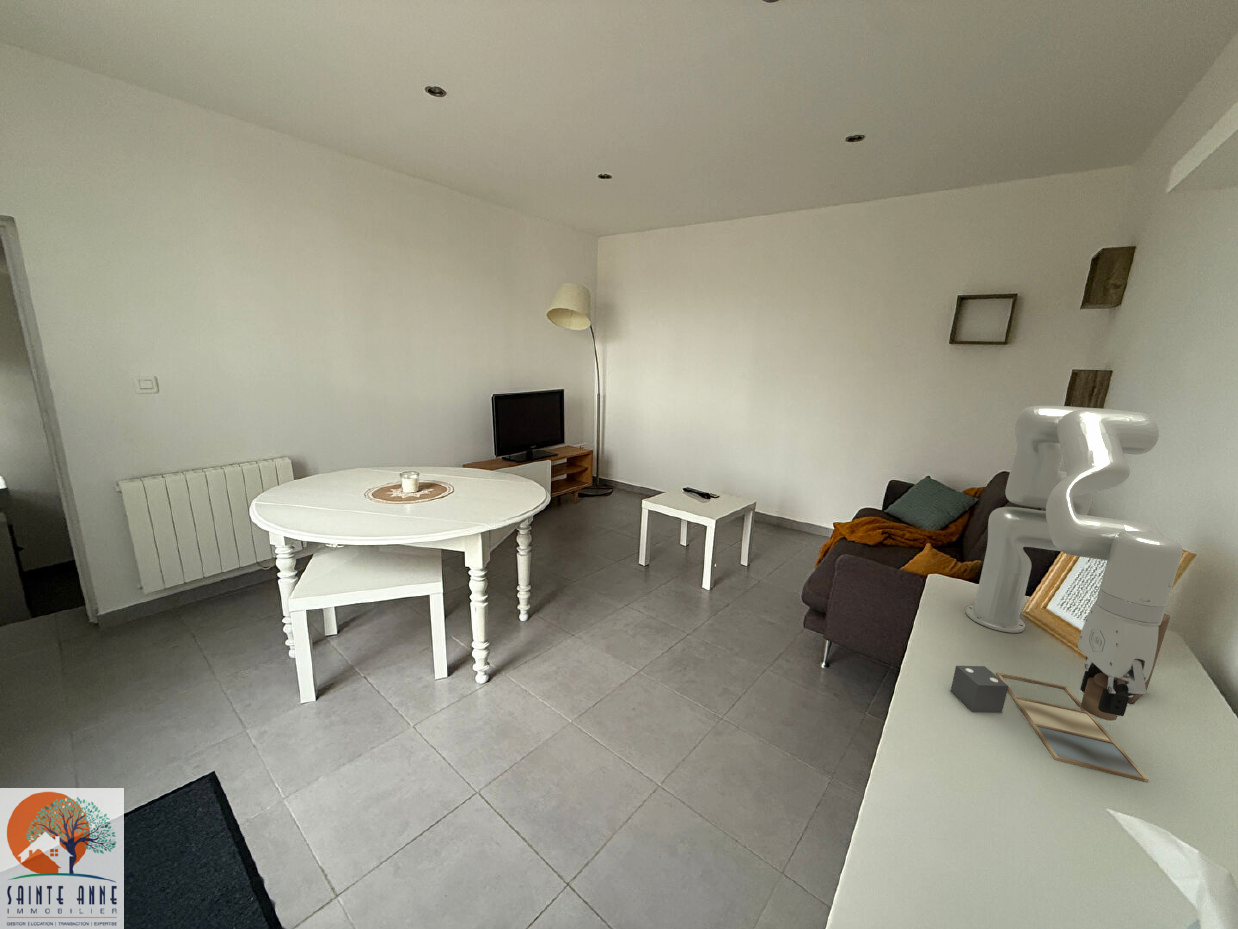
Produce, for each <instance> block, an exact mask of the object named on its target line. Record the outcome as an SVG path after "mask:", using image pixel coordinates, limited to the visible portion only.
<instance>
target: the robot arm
mask: <svg viewBox="0 0 1238 929" xmlns="http://www.w3.org/2000/svg"><path fill="white" fill-rule="evenodd" d="M1014 425H1015V426H1014V435H1015V443H1016V451H1015V455H1014V458H1013V460H1012V464H1011V466H1010V467H1011V468H1010V472H1009V474H1008V479H1007V483H1006V487H1005V491H1004V492H1005V497H1006V499H1007V500H1008V501H1009V502H1010V503H1013V504H1015V505H1019V506H1023V507H1025V508H1023V507H1016V506H1015V507H1014V506H1003V507H997V508H995V509H994V510H992V511H991V513H990V514H989V516H988V524H987V543H986V544H987V546H986V551H985V556H984V561H983V564H982V569H981V574H980V578H979V583H978V587H977V593H976V596H975V601H974V604H972V605H971V604H970V605H968V606H967V607H966V608H965V614H966V615H967V617H968V618H970V619H971V620H972V621H973V622H976V623H977V624H980V625H981V626H984V627H986V628H989V629H992V630H995V631H999V632H1003V633H1010V634H1013V633H1014V634H1015V633H1016V634H1019V633H1022V632H1024V631H1025V629H1026V624H1025V622H1024V621H1023V620H1022V619H1021V618H1020V616H1021V611H1022V607H1023V603H1024V599H1025V595H1026V591H1027V587H1028V583H1029V580H1030V575H1031V570H1032V561H1031V558H1030V557H1029V556H1028V554H1027V553H1026V552H1025V550H1024V548H1025V547H1026V548H1035V549H1041V550H1042V549H1044V550H1050V551H1058V552H1061V553H1063V554H1066V555H1067V556H1073V557H1080V558H1086V559H1093V560H1100V561H1106V565H1105V568H1104V572H1103V575H1102V579H1101V582H1100V586H1099V588H1098V593H1097V597H1096V600H1095V602H1094V603H1093V605H1092V606H1091V607H1090V610H1089V612H1088V614H1087V616H1086V617H1085V620H1084V623H1083V626H1082V629H1081V632H1080V634H1079V638H1078V642H1077V647H1078V649H1079V651H1080V652H1081V653H1082V655H1084V656H1085V660H1086V661H1085V662H1084V667H1083V668H1084V669H1085V670H1084V675H1083V677H1082V681H1081V684H1080V688H1079V690H1080V691H1081V692H1083V693H1084V692H1085V688H1086V685H1087V681H1088V679H1089V678H1094V676H1095V675H1096V674H1098V673H1105V674H1106V675H1107V676H1109V677H1108V686H1107V689H1103V692H1102V696H1101V699H1100V703H1099V706H1098V709H1099V710H1100V711H1101V712H1104V713H1109V714H1114V715H1117V717H1118V716H1119V717H1123V716H1125V713H1126V710H1127V708H1128V704H1129V703H1128V701H1129V698H1130V697H1133V695H1136V694H1142V695H1146V694H1147V691H1146V686H1145V682H1146V681H1147V680H1148V678H1149V676H1150V673H1151V670H1152V667H1153V663H1154V659H1155V654H1156V649H1157V642H1158V630H1159V627H1158V626H1159V625H1161V622H1162V619H1163V615H1164V614H1165V611H1166V609H1167V605H1168V602H1169V599H1170V595H1171V592H1172V589H1173V585H1174V582H1175V579H1176V575H1177V573H1178V569H1179V566H1180V563H1181V560H1182V557H1183V554H1184V553H1183V550H1184V549H1183V546H1182V545H1181V543H1179V542H1178V541H1177V540H1174V539H1173V538H1170V537H1169V536H1164V534H1163V533H1162V532H1161V531H1160V530H1159V529H1158V528H1157V527H1155V526H1153V525H1151V524H1149V523H1146V522H1141V521H1135V520H1125V519H1119V518H1111V517H1103V516H1096V515H1095V516H1094V515H1088V513H1089V510H1090V507H1091V505H1092V501H1093V496H1094V495H1093V494H1094V493H1096V492H1101V491H1106V490H1109V489H1112V488H1115V487H1118V486H1120V485H1122V483H1124V482H1125V481H1127V480H1128V479H1129V477H1130V473H1131V472H1130V471H1131V470H1130V467H1129V464H1128V462H1127V459H1126V455H1143V454H1146V453H1148V452H1151V451H1152V450H1153V449H1154V448H1155V446H1156V445H1157V442H1158V440H1159V436H1160V435H1159V434H1160V431H1159V427H1158V423H1157V422H1156V420H1155V419H1154V418H1153V417H1152V416H1150V415H1149V414H1147V413H1145V412H1142V411H1129V410H1122V409H1121V410H1120V409H1113V408H1112V409H1111V408H1098V407H1097V408H1095V407H1082V406H1081V407H1080V406H1070V405H1069V406H1067V405H1048V404H1047V405H1045V404H1044V405H1031V406H1028V407H1026V408H1024V409H1022V411H1020V413H1019V414H1018V416H1017V418H1016V421H1015V424H1014ZM1062 460H1063V463H1064V468H1065V470H1066V471H1061V470H1059V468H1060V464H1061V462H1062ZM1026 507H1030V508H1026ZM1031 508H1032V509H1031ZM1033 508H1038V510H1037V509H1033ZM1039 508H1040V509H1045V510H1039ZM1126 673H1127V676H1125V674H1126ZM1118 679H1119V680H1124V681H1125V684H1119V685H1117V680H1118Z"/></svg>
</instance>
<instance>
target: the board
mask: <svg viewBox="0 0 1238 929" xmlns="http://www.w3.org/2000/svg"><path fill="white" fill-rule="evenodd" d="M995 675H996V676H997V677H998V678H1000V679H1001V680H1002V681H1003V682H1004V683H1006V684H1007V685H1008V683H1007V682H1006V680H1005V679H1004V678H1007V679H1012V680H1016V681H1022V682H1027V683H1031V684H1037V685H1042V686H1045V687H1051V688H1056V689H1061V690H1064V691H1065V692H1066V693H1067V694H1068V696H1069V697H1070V698H1071V699H1072V700H1073V701H1074V703H1075V704H1076V705H1077V706H1078V708H1080V709H1077V708H1073V707H1067V706H1064V705H1063V706H1062V705H1058V704H1054V703H1050V702H1049V703H1048V702H1044V701H1041V700H1035V699H1030V698H1024V697H1021V696H1016V695H1015V694H1014V692H1013V690H1012V689H1011V687H1010V686H1009V685H1008V690H1007V693H1009V695H1010V696H1011V698H1012V700H1013V701H1014V702H1015V704H1016V706H1017V707H1018V708H1019V710H1020V711H1021V713H1022V714H1023V716H1024V717H1025V718H1026V720H1027V722H1028V723H1029V724H1030V726H1031V727H1032V729H1033V730H1034V731H1035V733H1036V735H1037V736H1038V737H1039V739H1040V740H1041V742H1042V743H1043V745H1044V746H1045V747H1046V749H1047V750H1048V752H1049V753H1050V755H1051V757H1052V758H1053V759H1054V760H1055V761H1059V762H1063V763H1067V764H1071V765H1076V766H1080V767H1082V768H1083V767H1084V768H1088V769H1092V770H1096V771H1100V772H1104V773H1108V774H1112V775H1116V776H1120V777H1125V778H1128V779H1133V780H1137V781H1141V782H1145V783H1149V781H1150V780H1149V778H1148V777H1147V776H1146V775H1145V774H1144V773H1143V771H1142V770H1141V769H1140V768H1139V767H1138V766H1137V765H1136V763H1134V761H1133V759H1131V758H1130V757H1129V756H1128V754H1126V752H1125V751H1124V750H1123V749H1122V747H1121V746H1120V745H1119V744H1118V743H1117V742H1116V741H1115V739H1113V737H1112V736H1111V735H1110V734H1109V733H1108V731H1106V730H1105V729H1104V727H1103V726H1102V725H1101V724H1100V723H1099V721H1098V720H1097V719H1096V718H1095V716H1094V715H1092V714H1090V713H1088V712H1087V711H1085V710H1084V709H1083V708H1082V706H1081V702H1082V701H1080V699H1078V698H1077V696H1075V694H1074V693H1073V692H1072V691H1071V690H1070V688H1069V687H1068V686H1066V685H1060V684H1056V683H1051V682H1046V681H1041V680H1037V679H1031V678H1026V677H1022V676H1017V675H1012V674H1007V673H1002V672H998V671H997V672H995Z"/></svg>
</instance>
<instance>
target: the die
mask: <svg viewBox="0 0 1238 929" xmlns="http://www.w3.org/2000/svg"><path fill="white" fill-rule="evenodd" d="M1006 683H1007V682H1006ZM1006 683H1004V682H1003V681H1002V680H1001V679H1000V678H998V676H997V675H996V673H993V672H992V671H991V670H990V669H989V668H988V667H986V666H985V665H984V666H983V665H955V668H954V674H953V678H952V683H951V688H950V692H951V693H952V694H953V695H954V696H955V697H956V698H957V699H958V700H959V701H960V702H962V704H963V705H964V706H965V707H966V708H967V709H968V710H969V711H970V712H972V713H1003V711H1004V710H1003V709H1004V705H1005V703H1006V702H1005V701H1006V699H1007V693H1008V691H1007V690H1008V686H1009V684H1008V683H1007V684H1006Z"/></svg>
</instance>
